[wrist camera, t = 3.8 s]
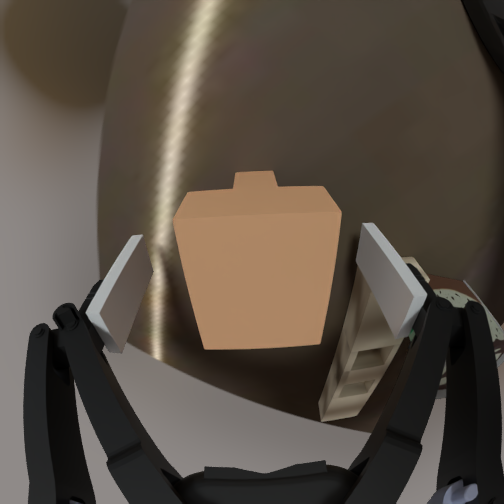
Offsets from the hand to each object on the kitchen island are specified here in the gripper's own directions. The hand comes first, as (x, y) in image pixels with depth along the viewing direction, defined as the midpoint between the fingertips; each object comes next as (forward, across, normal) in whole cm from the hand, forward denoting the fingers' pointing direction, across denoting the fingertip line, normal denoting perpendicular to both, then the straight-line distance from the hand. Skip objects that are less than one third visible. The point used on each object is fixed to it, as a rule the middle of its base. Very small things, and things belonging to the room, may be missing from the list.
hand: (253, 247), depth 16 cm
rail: (+2, +10, -15) cm, 18 cm away
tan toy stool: (+2, 0, 0) cm, 2 cm away
